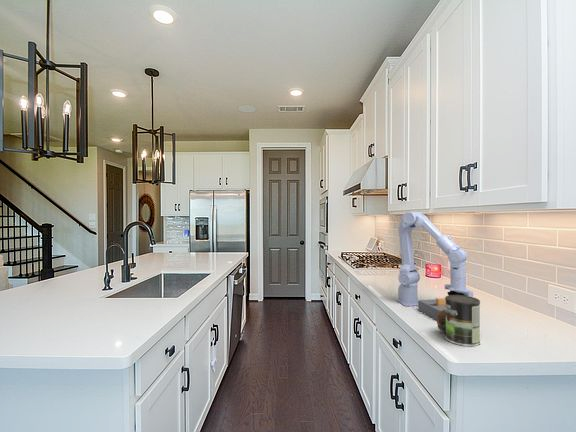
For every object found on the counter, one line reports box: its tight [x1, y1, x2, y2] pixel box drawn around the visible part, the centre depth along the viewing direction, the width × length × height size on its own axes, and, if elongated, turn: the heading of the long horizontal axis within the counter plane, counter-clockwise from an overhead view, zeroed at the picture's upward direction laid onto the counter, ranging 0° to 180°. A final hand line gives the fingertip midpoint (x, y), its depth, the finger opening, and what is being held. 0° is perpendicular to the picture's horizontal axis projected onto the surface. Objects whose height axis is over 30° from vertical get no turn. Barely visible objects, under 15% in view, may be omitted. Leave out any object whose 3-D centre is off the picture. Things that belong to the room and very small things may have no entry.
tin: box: [436, 309, 446, 334], centre depth 115 cm, size 15×3×8 cm, turn 105°
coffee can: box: [444, 295, 481, 348], centre depth 107 cm, size 10×10×14 cm
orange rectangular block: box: [435, 297, 446, 306], centre depth 134 cm, size 11×2×7 cm, turn 96°
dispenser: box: [417, 298, 446, 321], centre depth 133 cm, size 9×16×4 cm, turn 6°
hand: (458, 309), depth 134 cm, fingers closed on orange rectangular block, 2 cm apart
